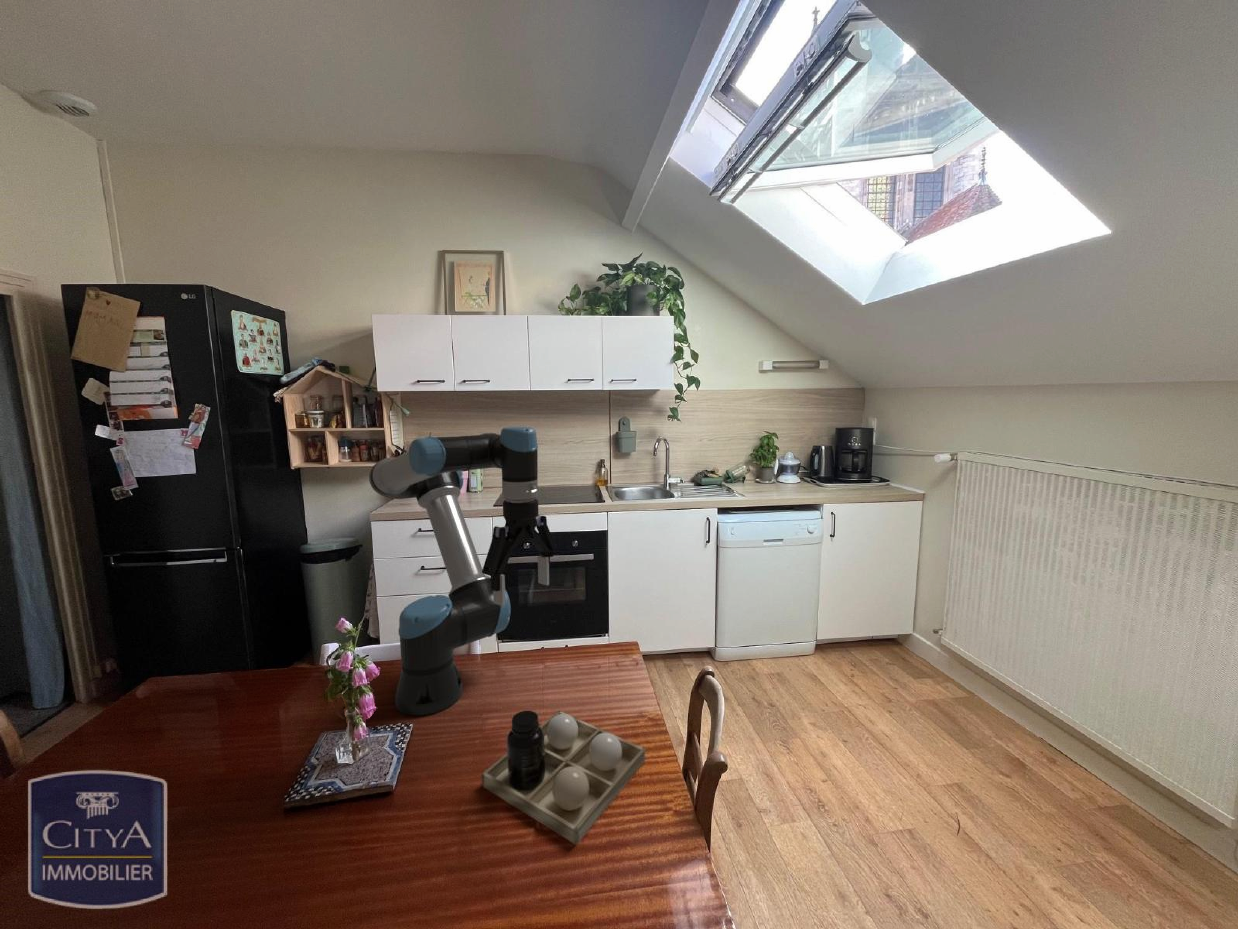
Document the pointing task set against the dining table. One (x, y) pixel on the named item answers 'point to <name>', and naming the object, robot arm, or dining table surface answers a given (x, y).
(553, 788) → the egg
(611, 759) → the egg
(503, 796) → the crate
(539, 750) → the supplement bottle
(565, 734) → the egg
